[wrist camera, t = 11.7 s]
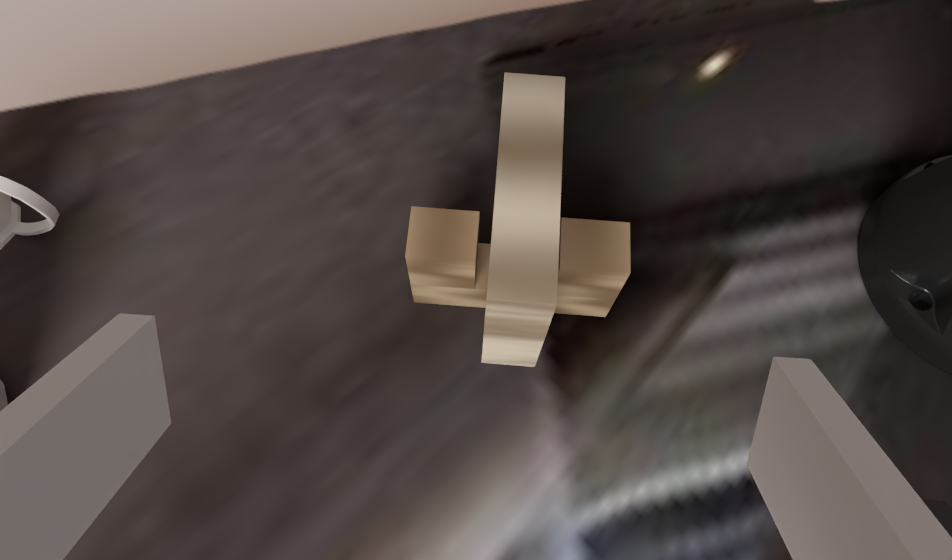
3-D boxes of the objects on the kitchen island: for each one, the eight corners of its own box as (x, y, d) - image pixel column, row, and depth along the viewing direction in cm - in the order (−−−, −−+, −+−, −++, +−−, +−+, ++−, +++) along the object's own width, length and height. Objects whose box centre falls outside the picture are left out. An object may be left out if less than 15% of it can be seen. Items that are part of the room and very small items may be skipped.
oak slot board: (605, 272, 44) (629, 222, 37) (605, 316, 43) (630, 272, 36) (419, 258, 44) (411, 206, 38) (414, 302, 43) (405, 255, 37)
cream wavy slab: (534, 367, 38) (557, 304, 29) (481, 362, 38) (486, 298, 29) (543, 181, 43) (565, 77, 34) (496, 178, 43) (504, 72, 34)
